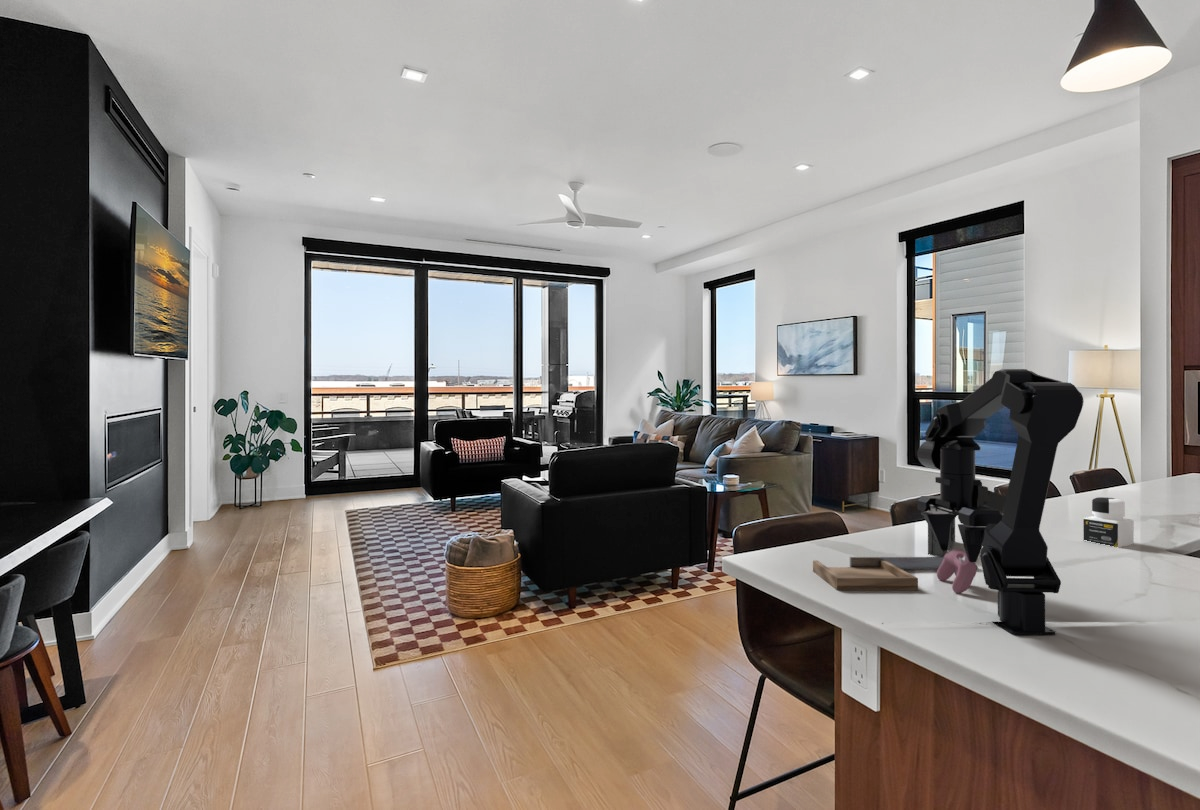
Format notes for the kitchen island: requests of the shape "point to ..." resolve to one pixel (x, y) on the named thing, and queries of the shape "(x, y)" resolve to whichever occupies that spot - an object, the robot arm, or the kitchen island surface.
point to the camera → (933, 545)
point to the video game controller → (957, 570)
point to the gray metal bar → (898, 562)
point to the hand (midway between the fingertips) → (957, 555)
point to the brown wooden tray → (867, 577)
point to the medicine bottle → (1109, 523)
